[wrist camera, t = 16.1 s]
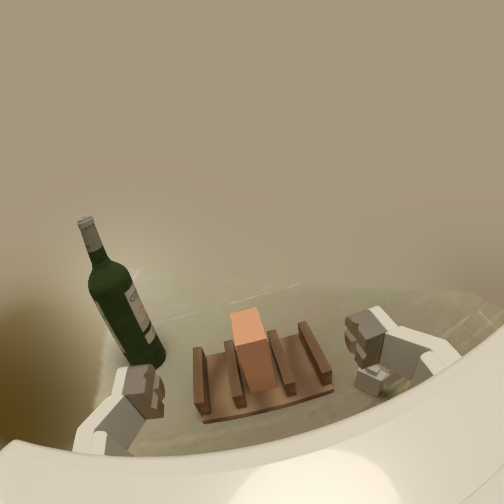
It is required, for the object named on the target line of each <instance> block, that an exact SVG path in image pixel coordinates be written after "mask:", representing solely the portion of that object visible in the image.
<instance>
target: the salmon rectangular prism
mask: <svg viewBox="0 0 504 504" xmlns="http://www.w3.org/2000/svg"><path fill="white" fill-rule="evenodd" d="M230 317H231V323H232V329H233V334H234V340H235V345H236V349H237V352H238V355H239V358H240V361H241V364H242V367H243V371H244V374H245V377H246V380H247V383H248V386H249V389H250V392H251V394H252V393H256V392H260V391H264V390H268V389H272V388H276V382H275V377H274V372H273V367H272V362H271V357H270V352H269V348H268V343H267V338H266V335H265V332H264V329H263V326H262V323H261V320H260V316H259V313H258V310H257V307H256V308H251V309H247V310H243V311H239V312H235V313H230Z"/></svg>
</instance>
